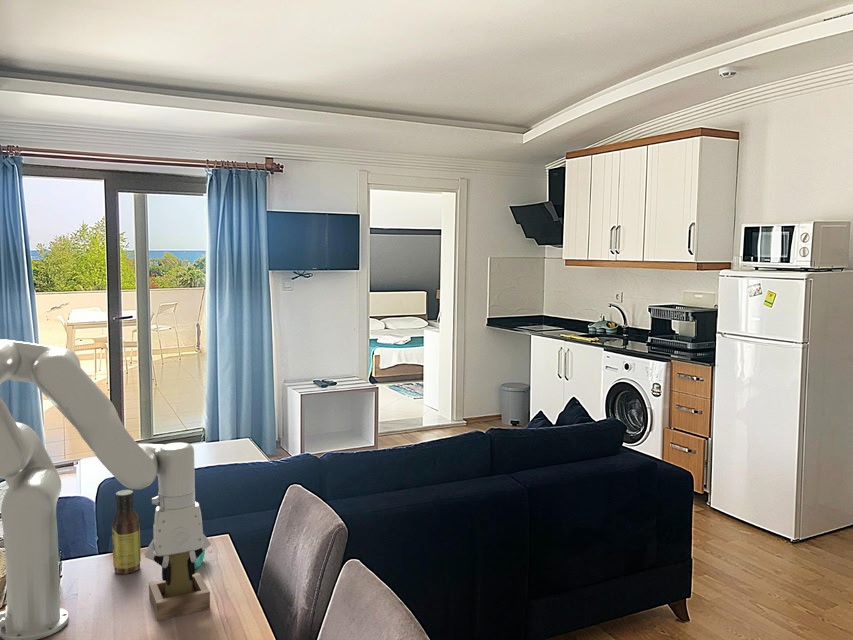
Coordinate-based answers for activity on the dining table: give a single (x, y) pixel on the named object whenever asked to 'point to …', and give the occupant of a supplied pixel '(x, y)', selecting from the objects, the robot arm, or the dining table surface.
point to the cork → (179, 576)
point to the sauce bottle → (126, 535)
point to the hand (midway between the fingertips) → (178, 579)
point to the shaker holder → (179, 599)
